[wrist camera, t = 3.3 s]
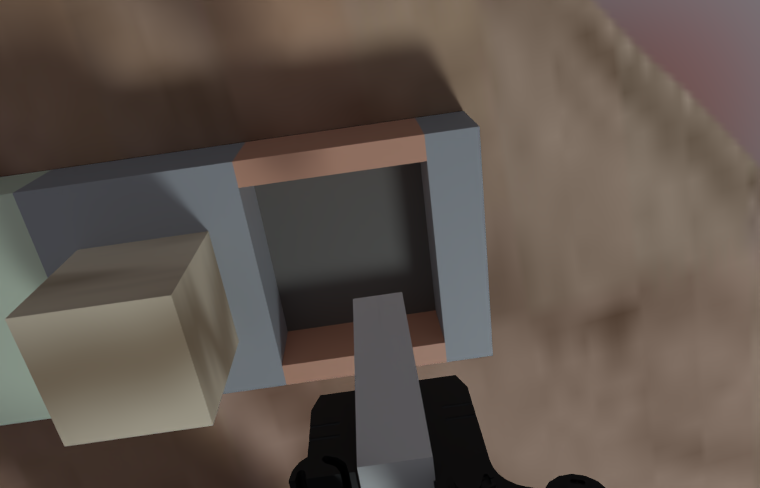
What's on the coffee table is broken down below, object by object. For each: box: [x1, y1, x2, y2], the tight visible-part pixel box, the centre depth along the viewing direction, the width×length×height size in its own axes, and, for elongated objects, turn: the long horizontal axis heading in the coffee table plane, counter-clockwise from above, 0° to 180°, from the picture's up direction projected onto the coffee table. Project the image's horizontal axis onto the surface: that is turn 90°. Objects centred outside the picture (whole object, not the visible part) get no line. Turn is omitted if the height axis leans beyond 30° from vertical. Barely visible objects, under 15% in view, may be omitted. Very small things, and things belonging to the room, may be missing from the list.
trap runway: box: [0, 111, 493, 426], centre depth 24 cm, size 10×34×3 cm, turn 97°
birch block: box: [5, 231, 239, 446], centre depth 20 cm, size 5×5×5 cm
